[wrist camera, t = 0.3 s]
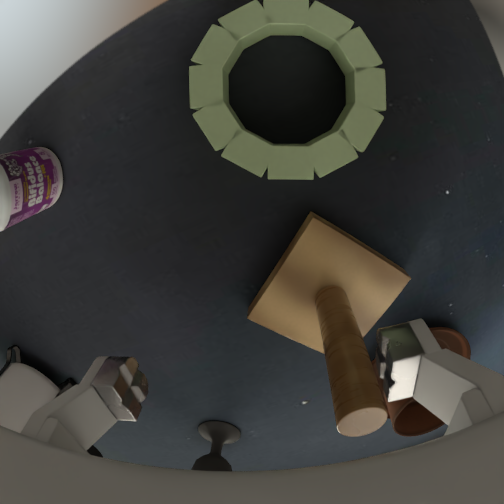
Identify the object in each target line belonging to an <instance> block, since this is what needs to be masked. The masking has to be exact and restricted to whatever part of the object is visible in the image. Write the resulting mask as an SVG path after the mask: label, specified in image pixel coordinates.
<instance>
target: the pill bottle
mask: <svg viewBox="0 0 504 504" xmlns="http://www.w3.org/2000/svg"><path fill="white" fill-rule="evenodd" d="M62 186H63V176H62V167H61V164H60V161H59V159H58V158H57V156H56V155H55V154H54V153H53V152H52V151H51V150H49V149H47V148H44V147H35V148H29V149H24V150H19V151H14V152H10V153H6V154H1V155H0V231H3V230H5V229H6V228H8V227H10V226H12V225H14V224H16V223H18V222H20V221H22V220H24V219H26V218H28V217H30V216H32V215H34V214H37V213H39V212H41V211H43V210H45V209H47V208H49V207H51V206H52V205H53V204H54V203H55V202H56V201H57V200H58V198H59V196H60V194H61V190H62Z"/></svg>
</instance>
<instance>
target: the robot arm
mask: <svg viewBox="0 0 504 504" xmlns="http://www.w3.org/2000/svg"><path fill="white" fill-rule="evenodd" d="M376 340H377V343H378V345H379V346H378V347H377V349H376V366H377V371H378V374H379V377H380V378H382V379H383V389H384V392H385V395H386V398H387V401H388V402H392V401H397V400H401V399H405V398H409V397H413V398H414V399H415V400H416V401H418V402H419V403H420V404H421V405H423V406H424V407H425V408H427V409H428V410H429V411H430V412H432V413H433V414H434V415H436V416H437V417H438V418H439V419H441V420H442V421H443V422H444V423H446V424H447V425H448V428H447V430H446V432H445V435H444V436H443V437H440V438H437V439H434V440H431V441H428V442H425V443H421V444H418V445H415V446H411V447H408V448H404V449H401V450H397V451H393V452H389V453H385V454H381V455H377V456H372V457H367V458H363V459H358V460H352V461H347V462H341V463H335V464H329V465H322V466H314V467H305V468H296V469H284V470H269V471H199V470H184V469H173V468H163V467H155V466H147V465H140V464H134V463H128V462H122V461H117V460H112V459H107V458H102V457H97V456H93V455H90V454H89V453H88V452H87V450H88V449H89V448H90V447H91V446H92V445H93V444H94V443H95V442H96V441H97V440H98V439H99V438H100V437H101V436H102V435H103V434H104V433H105V432H107V431H108V430H109V429H110V428H111V427H112V426H113V425H114V424H115V423H116V422H117V420H126V421H137V419H138V416H139V414H140V411H141V409H142V406H141V404H140V403H141V402H142V401H143V400H145V399H146V397H147V394H148V382H147V379H146V377H145V375H144V374H143V373H142V372H141V371H139V370H138V367H139V364H138V362H137V361H136V359H135V358H133V357H112V356H110V357H103V356H100V357H97V358H96V359H95V361H94V362H93V364H92V365H91V367H90V368H89V370H88V371H87V373H86V374H85V376H84V378H83V379H82V381H81V382H80V384H79V385H77V384H76V385H74V386H73V387H71V388H70V389H68V390H67V391H65V392H64V393H62V394H61V395H59V396H58V397H56V398H55V399H53V400H52V401H50V402H49V403H47V404H45V405H44V406H42V407H41V408H39V409H38V410H36V411H35V412H33V414H32V415H31V417H30V418H29V420H28V422H27V423H26V425H25V426H24V428H23V430H22V431H21V433H18V432H15V431H13V430H10V429H8V428H5V427H3V426H1V425H0V504H504V376H503V375H501V374H499V373H497V372H495V371H492V370H490V369H488V368H486V367H484V366H482V365H480V364H478V363H476V362H473V361H471V360H469V359H467V358H465V357H463V356H461V355H459V354H457V353H454V352H452V351H450V350H448V349H446V348H445V349H441V347H440V346H439V344H438V342H437V341H436V339H435V337H434V336H433V334H432V333H431V331H430V329H429V328H428V326H427V325H426V323H425V322H424V320H423V319H421V318H420V319H416V320H413V321H409V322H407V323H402V324H398V325H393V326H389V327H384V328H380V329H377V333H376Z"/></svg>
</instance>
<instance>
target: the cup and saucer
mask: <svg viewBox="0 0 504 504" xmlns="http://www.w3.org/2000/svg"><path fill="white" fill-rule="evenodd" d="M429 329H430V331H431V333H432V334H433V336H434V337H435V339H436V341H437V342H438V344H439V346H440V347H441V349H445V348H446V349H448V350H450V351H452V352H454V353H457V354H459V355H461V356H463V357H465V358H467V359H469V360H470V355H471V350H470V345H469V343H468V341H467V339H466V338H465V337H464V336H463V335H462V334H461V333H459V332H458V331H456V330H454V329H451V328H445V327H435V328H429ZM372 366H373V369H374V372H375V375H376V378H377V381H378V385H379V388H380V391H381V394H382V397H383V400H384V404H385V407H386V410H387V414H388V416H387V418H391V422H392V425H393V429H394V431H395V432H396V433H397V434H399V435H402V436H418V435H422V434H425V433H428V432H431V431H433V430H435V429H437V428H439V427H441V426H442V425H444V424H445V423H444V422H443V421H442V420H441V419H439V418H438V417H437V416H436V415H434V414H433V413H432V412H430V411H429V410H428V409H427V408H425V407H424V406H423V405H421V404H420V403H419V402H418V401H416V400H415V399H414V398H413V397H409V398H405V399H401V400H397V401H392V402H388V401H387V398H386V395H385V392H384V389H383V379H382V378H380V377H379V374H378V371H377V366H376V358H375V359H374V360H373V362H372Z"/></svg>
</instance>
